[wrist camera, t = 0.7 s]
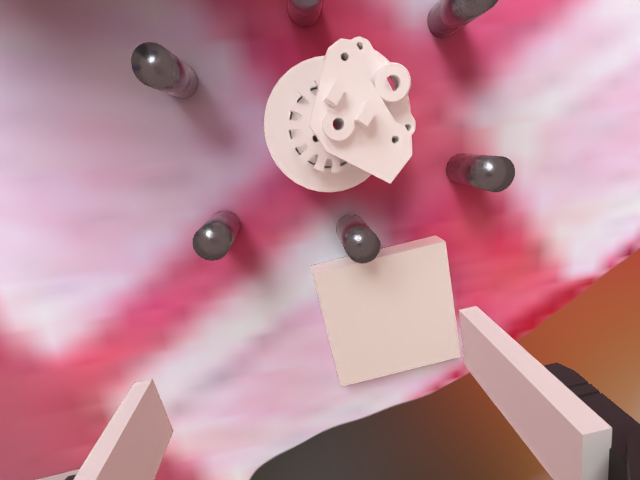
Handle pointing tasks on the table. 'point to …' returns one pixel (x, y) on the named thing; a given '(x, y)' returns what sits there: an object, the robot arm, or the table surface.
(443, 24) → the standoff posts
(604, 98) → the table surface
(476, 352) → the robot arm
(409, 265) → the parts stand
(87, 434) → the table surface
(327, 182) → the mechanical part
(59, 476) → the storage bin
